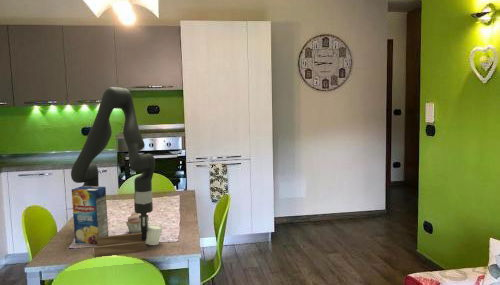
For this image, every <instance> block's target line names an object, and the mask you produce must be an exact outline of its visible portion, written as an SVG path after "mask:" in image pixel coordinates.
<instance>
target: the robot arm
mask: <svg viewBox="0 0 500 285" xmlns="http://www.w3.org/2000/svg"><path fill="white" fill-rule="evenodd" d="M114 109H118V110H119V109H120V110H122V112H123V115H124V124H123V129H122V133H123V134H122V135H123V138H124V141H125V145H126V147H127V152H128V164H129V167H130V169H131V170H132V171H133V172H137V173H139V172H141V174H140V175H138V176H137V177H135V178H134V194H133V201H134V202H133V205H134V209H133V210H134V212H135V213H138V214H139V213H140V214H141V215H139V221H140V228H141V232H140V233H142V241H145V242H146V234H147V227H148V225H149V220H150V219H149V218H150V217H149V214H150V213H151V212H153V210H154V208H153V207H154V206H153V204H154V203H153V201H154V200H153V199H154V198H153V191H152V190H153V189H152V188H153V186H152V183H153V182H152V180H153V177H154V171H155V169H156V158H155V157H154V155H153V154H152V153H142V154H141V153H140V154H139V151H143V149H145V145H146V144H145V141H144V138H143V136H142V133H141V131H140V128H139V125H138V120H137V116H136V115H137V114H136V110H135V103H134V99H133V96H132V94H131V91H130V90H129V89H127V88H125V87H117V86H110V87H107V88H106V89H105V90H104V92H103V94H102V97H101V100H100V103H99V107H98V110H97V113H96V116H95V118H94V120H93V124H91V127H90V130H89V132H88V134H87V137H86V140H85V142H84V144H83V147H81V148H82V149H81V150H80V153H79V155H78V156H77V158H76V160H75V162H74V163H73V165H72V167H71V170H70V177H71V180H72V181H73V182H74V183H76V184H81V183H83V185H82V186H97V187H100V186H99V168H98V166H97V164H96V163H95V162H94V161H93V160H94V159H95V158H97V156H99V155H100V154H101V153H102V152H103V151H104V150H105V149H106V147H107V146H108V144H109V142H110V140H111V136H112V133H113V132H112V131H113V130H112V127H111V126H112V125H111V122H110V118H111V115H112V112H113V111H114Z"/></svg>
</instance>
